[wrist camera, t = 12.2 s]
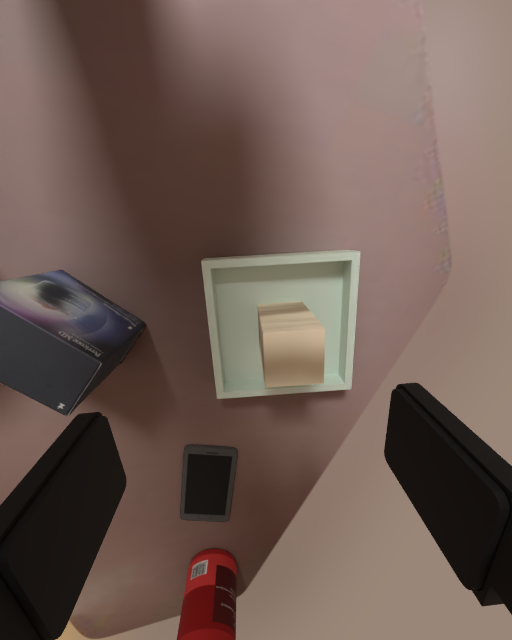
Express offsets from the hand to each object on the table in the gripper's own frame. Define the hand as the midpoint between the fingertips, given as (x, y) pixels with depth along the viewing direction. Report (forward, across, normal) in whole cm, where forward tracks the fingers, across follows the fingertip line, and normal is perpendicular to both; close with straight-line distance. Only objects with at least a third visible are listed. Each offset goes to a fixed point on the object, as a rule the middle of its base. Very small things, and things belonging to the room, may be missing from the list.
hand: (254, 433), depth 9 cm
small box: (+23, +17, +2) cm, 29 cm away
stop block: (+21, -4, +4) cm, 22 cm away
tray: (+22, -4, +5) cm, 23 cm away
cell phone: (+22, +8, +28) cm, 37 cm away
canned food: (+21, +9, +45) cm, 51 cm away
